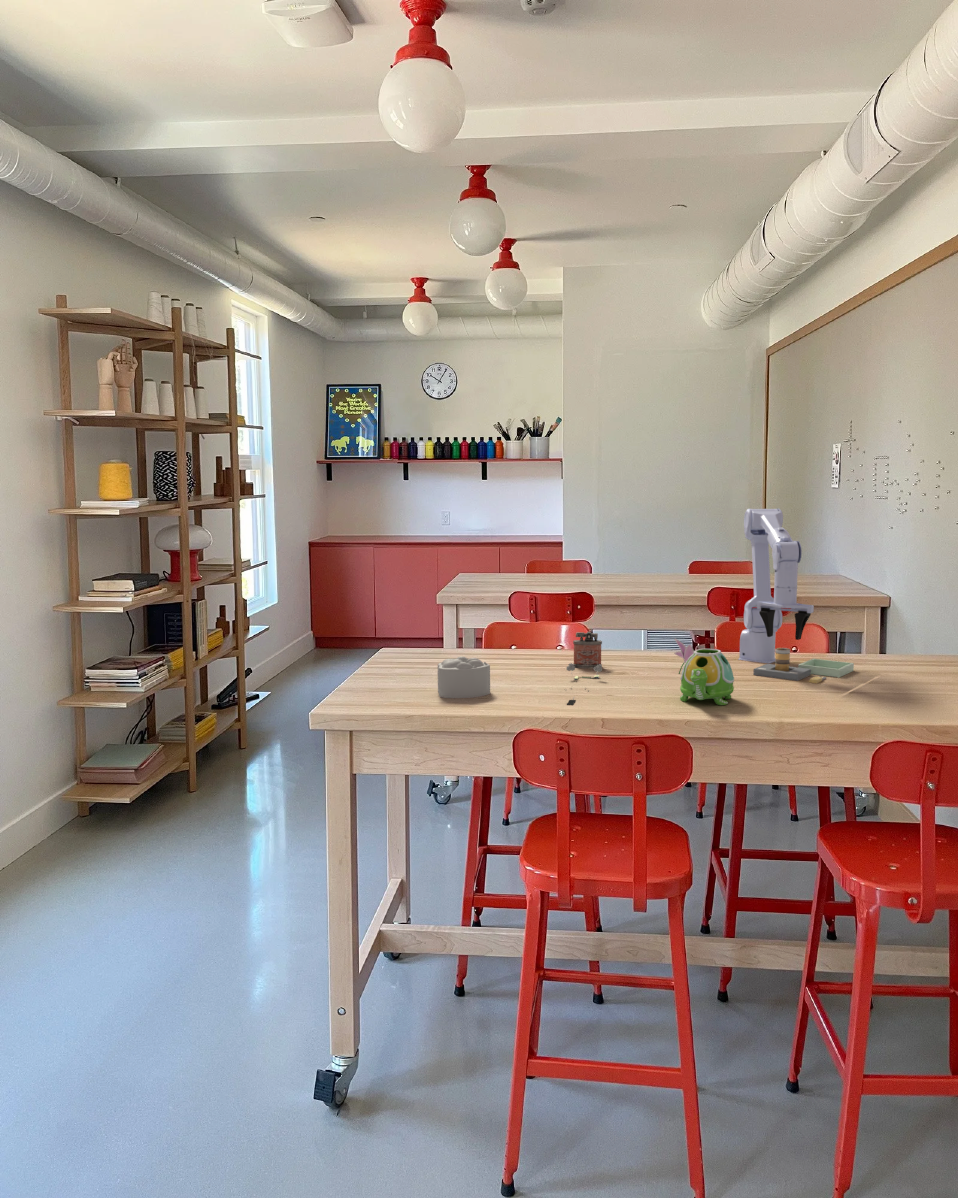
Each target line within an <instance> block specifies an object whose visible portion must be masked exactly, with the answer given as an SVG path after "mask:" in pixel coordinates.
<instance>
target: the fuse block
mask: <svg viewBox="0 0 958 1198" xmlns="http://www.w3.org/2000/svg"><path fill="white" fill-rule="evenodd" d="M753 676H759V677H765V678H772V679H773V678H775V679H781V680H788V681H797V682H798V681H801V680H802V679H805V678H807V677H809V676H812V674H811V669H806V668H798V666H797V667H796V666H790V665H789V671H788V672H786V671H778V670H775V663H774V664H772V663H764V664H763V665H760V666H757V667H755V668H753Z"/></svg>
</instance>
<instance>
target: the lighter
mask: <svg viewBox="0 0 958 1198" xmlns="http://www.w3.org/2000/svg"><path fill="white" fill-rule="evenodd" d="M575 637H576V638H580V639H574V640H573V641H572V643H573V663H572V664H574V666H575V669H577V668H578V669H594V667H596V666H597V665H599V664H601V666H602V665H603V663H602V645H603V640H600V639H598V633H597V632H591V631H586V632H581V631H580V632H579V631H578V632H577V631H576V633H575ZM602 667H603V666H602Z"/></svg>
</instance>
